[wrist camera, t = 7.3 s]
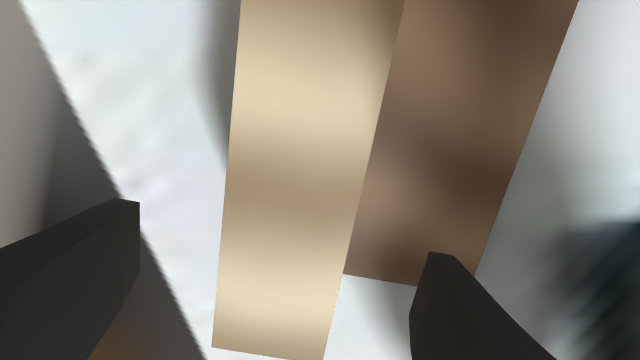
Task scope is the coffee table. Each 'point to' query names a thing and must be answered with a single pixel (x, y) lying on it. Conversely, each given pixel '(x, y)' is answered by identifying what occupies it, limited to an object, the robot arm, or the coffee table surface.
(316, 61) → the beech bar
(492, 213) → the board
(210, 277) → the coffee table surface
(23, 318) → the robot arm
